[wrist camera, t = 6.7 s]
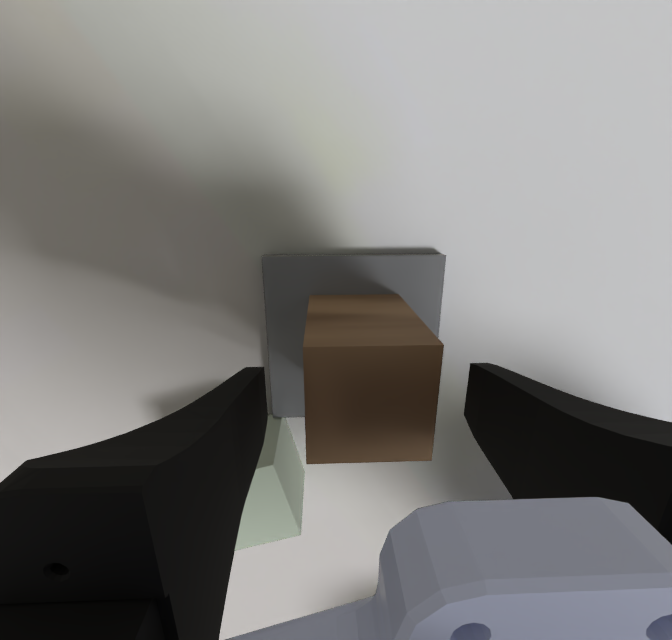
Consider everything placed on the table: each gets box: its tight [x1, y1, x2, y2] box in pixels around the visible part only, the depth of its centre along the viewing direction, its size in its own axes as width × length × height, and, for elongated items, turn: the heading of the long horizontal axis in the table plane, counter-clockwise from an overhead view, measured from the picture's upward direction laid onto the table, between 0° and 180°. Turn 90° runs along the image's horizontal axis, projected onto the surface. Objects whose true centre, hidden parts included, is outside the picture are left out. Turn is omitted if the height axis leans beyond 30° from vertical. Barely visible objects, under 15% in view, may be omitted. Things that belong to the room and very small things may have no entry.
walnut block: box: [303, 294, 444, 464], centre depth 13 cm, size 4×4×6 cm
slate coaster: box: [262, 254, 446, 418], centre depth 16 cm, size 8×8×1 cm
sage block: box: [235, 414, 305, 551], centre depth 17 cm, size 4×4×4 cm
